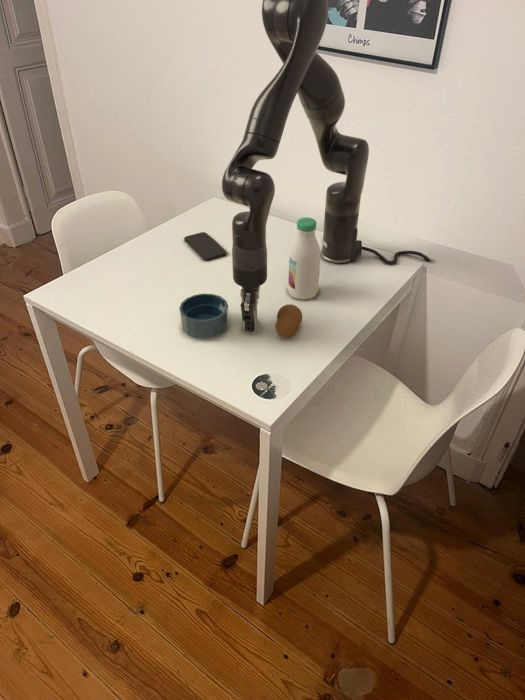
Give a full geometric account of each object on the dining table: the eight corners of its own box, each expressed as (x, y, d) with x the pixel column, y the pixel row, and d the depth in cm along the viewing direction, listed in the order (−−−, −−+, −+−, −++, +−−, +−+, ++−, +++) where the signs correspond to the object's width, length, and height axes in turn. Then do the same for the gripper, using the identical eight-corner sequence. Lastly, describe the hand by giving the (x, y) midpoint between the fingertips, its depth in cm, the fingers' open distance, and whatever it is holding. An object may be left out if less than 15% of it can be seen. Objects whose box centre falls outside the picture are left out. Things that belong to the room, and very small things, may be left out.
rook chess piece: (258, 335, 124) (258, 307, 119) (239, 333, 125) (238, 304, 120) (262, 324, 128) (261, 296, 122) (243, 321, 128) (243, 294, 123)
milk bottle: (321, 287, 140) (326, 216, 127) (313, 302, 134) (318, 230, 122) (292, 282, 142) (295, 212, 129) (284, 297, 136) (286, 225, 124)
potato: (302, 320, 129) (303, 300, 125) (300, 343, 122) (301, 322, 118) (277, 319, 129) (278, 298, 125) (274, 341, 122) (274, 320, 118)
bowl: (232, 313, 131) (231, 294, 127) (224, 341, 122) (223, 322, 119) (187, 310, 132) (185, 292, 128) (177, 338, 123) (174, 319, 120)
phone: (204, 259, 150) (182, 237, 160) (204, 261, 150) (182, 239, 160) (227, 252, 153) (204, 231, 163) (227, 255, 153) (205, 233, 163)
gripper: (263, 279, 109) (263, 344, 120) (270, 245, 120) (269, 308, 131) (227, 277, 109) (230, 342, 120) (237, 244, 120) (239, 306, 131)
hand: (251, 324), depth 125 cm, fingers closed on rook chess piece, 4 cm apart
